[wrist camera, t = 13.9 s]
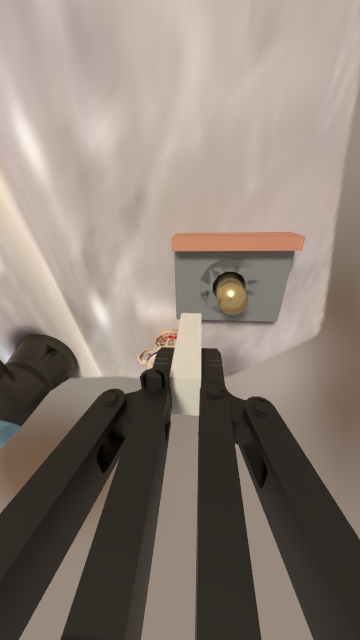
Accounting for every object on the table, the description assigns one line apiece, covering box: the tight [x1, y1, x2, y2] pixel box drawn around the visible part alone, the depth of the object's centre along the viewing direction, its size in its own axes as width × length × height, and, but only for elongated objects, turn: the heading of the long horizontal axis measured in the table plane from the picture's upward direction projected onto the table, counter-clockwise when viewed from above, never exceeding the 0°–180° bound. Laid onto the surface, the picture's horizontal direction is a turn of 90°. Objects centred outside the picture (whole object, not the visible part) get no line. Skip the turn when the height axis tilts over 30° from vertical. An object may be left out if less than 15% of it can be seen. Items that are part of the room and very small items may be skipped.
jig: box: [172, 232, 305, 322], centre depth 37 cm, size 20×16×6 cm
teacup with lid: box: [137, 330, 178, 370], centre depth 44 cm, size 12×9×12 cm
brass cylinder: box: [215, 272, 248, 315], centre depth 36 cm, size 5×5×10 cm
